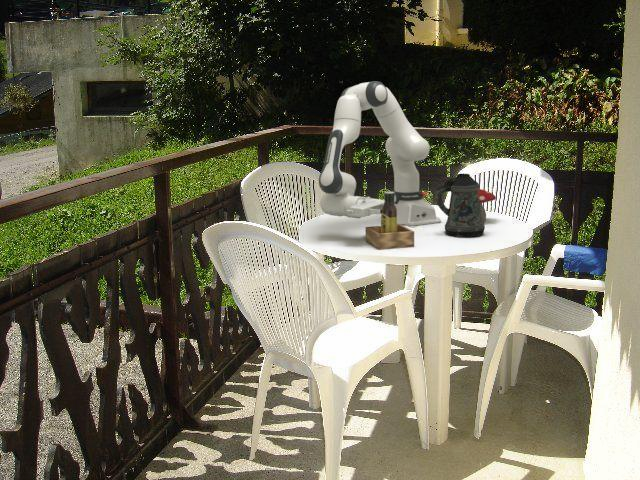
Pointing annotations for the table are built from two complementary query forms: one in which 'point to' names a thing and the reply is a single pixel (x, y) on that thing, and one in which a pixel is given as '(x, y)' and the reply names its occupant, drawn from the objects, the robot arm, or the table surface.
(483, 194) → the decorative mushroom
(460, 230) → the beer stein
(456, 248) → the table surface
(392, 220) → the sauce bottle
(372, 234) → the crate
